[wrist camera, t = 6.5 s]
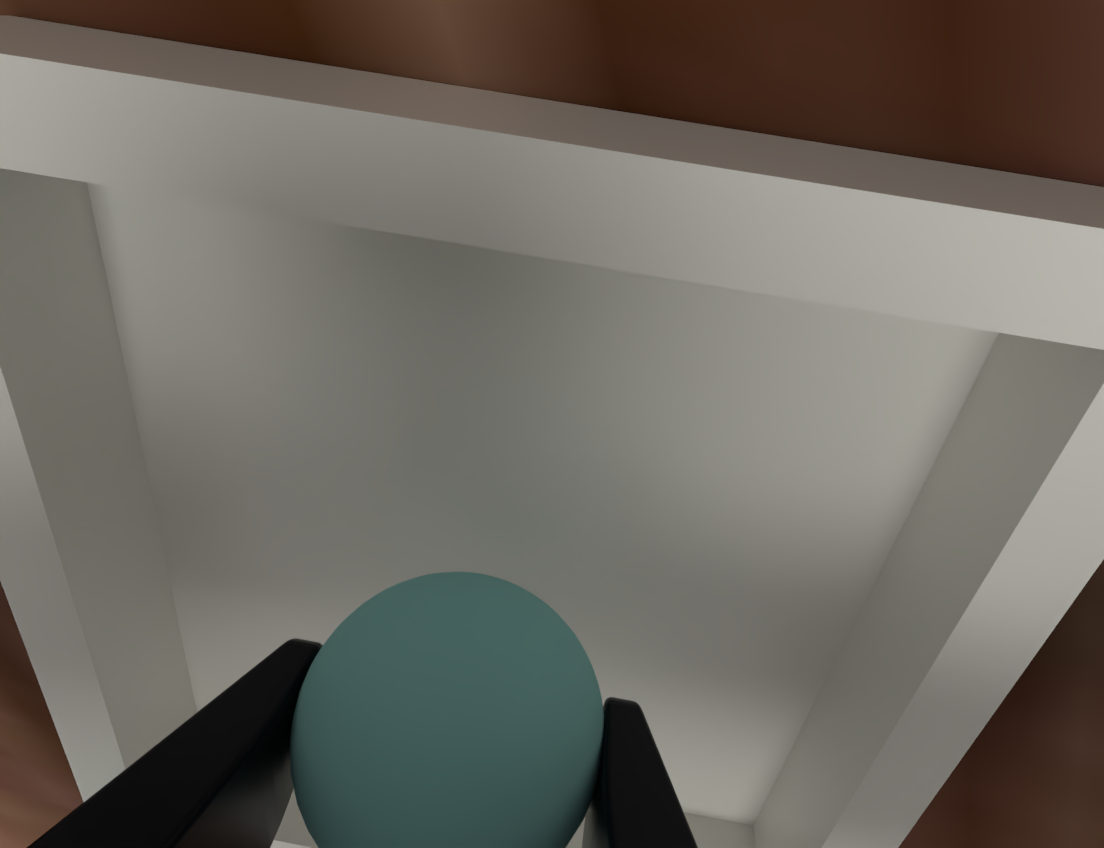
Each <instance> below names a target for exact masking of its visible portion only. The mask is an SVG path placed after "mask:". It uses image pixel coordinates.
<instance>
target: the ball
mask: <svg viewBox="0 0 1104 848" xmlns="http://www.w3.org/2000/svg"><path fill="white" fill-rule="evenodd" d="M603 737H604V709H603V703H602V697H601V693H600V689H599V684H598V681H597V678H596V675H595V672H594V669H593V667H592V664H591V662H590V660H589V658H588V655H587V654H586V652H585V650H584V648H583V646H582V645H581V643H580V641H579V640H578V638H577V637H576V635H575V633H574V632H573V631H572V630H571V629H570V627H569V626H568V625H567V624H566V623H565V621H564V620H563V619H562V618H561V617H560V616H559V615H558V613H556V612H555V611H554V610H553V609H552V608H551V607H550V606H549V605H548V604H546V603H545V602H544V601H542V600H541V599H539V598H538V597H537V596H535V595H534V594H532V593H530V592H529V591H527V590H525V589H523V588H522V587H520V586H518V585H515V584H513V583H511V582H509V581H506V580H503V579H500V578H497V577H494V576H489V575H485V574H479V573H472V572H444V573H433V574H428V575H423V576H419V577H416V578H413V579H409V580H407V581H404V582H401V583H398V584H396V585H394V586H392V587H389V588H387V589H385V590H384V591H382V592H380V593H379V594H377V595H375V596H374V597H372V598H371V599H369V600H367V601H366V602H364V603H363V604H362V605H360V606H359V607H358V608H357V609H356V610H355V611H354V612H352V613H351V614H350V615H349V616H348V617H347V618H346V619H345V620H344V621H343V622H341V623H340V625H339V626H338V627H337V628H336V629H335V631H334V632H333V633H332V634H331V635H330V637H329V638H328V639H327V641H326V642H325V643H324V645H323V646H322V647H321V649H320V651H319V652H318V654H317V656H316V657H315V659H314V660H313V662H312V664H311V666H310V668H309V670H308V673H307V675H306V677H305V680H304V682H303V684H302V687H301V689H300V692H299V695H298V699H297V703H296V707H295V711H294V715H293V720H292V726H291V736H290V768H291V777H292V782H293V787H294V792H295V796H296V801H297V805H298V807H299V810H300V812H301V815H302V817H303V820H304V822H305V825H306V827H307V830H308V832H309V833H310V835H311V836H312V838H313V840H314V841H315V843H316V844H317V846H318V848H566V846H567V845H568V843H569V842H570V840H571V839H572V837H573V836H574V834H575V833H576V831H577V829H578V828H579V826H580V825H581V823H582V822H583V820H584V817H585V815H586V813H587V811H588V808H589V806H590V804H591V802H592V799H593V797H594V794H595V790H596V785H597V780H598V775H599V769H600V762H601V755H602V747H603Z"/></svg>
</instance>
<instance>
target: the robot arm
mask: <svg viewBox="0 0 1104 848" xmlns="http://www.w3.org/2000/svg"><path fill="white" fill-rule="evenodd" d="M322 646H323V645H322V644H321V643H319V642H314V641H309V640H303V639H298V638H293V639H290V640H288V641H286V642H285V643H283V644H282V645H281V646H280V647H278V648H277V649H276V650H275V651H273V652H272V653H271V654H270V655H268V656H267V657H266V658H265V659H263V660H262V661H261V662H260V663H258V664H257V665H256V666H255V667H253V668H252V669H251V670H250V671H248V672H247V673H246V674H245V675H243V676H242V677H241V678H239V679H238V680H237V681H236V682H234V683H233V684H232V685H231V686H229V687H228V688H227V689H226V690H224V691H223V692H222V693H221V694H219V695H218V696H217V697H216V698H214V699H213V700H212V701H211V702H209V703H208V704H207V705H206V706H204V707H203V708H202V709H201V710H199V711H198V712H197V713H195V714H194V715H193V716H192V717H190V718H189V719H188V720H187V721H185V722H184V723H183V724H182V725H180V726H179V727H178V728H177V729H175V730H174V731H173V732H172V733H170V734H169V735H168V736H167V737H165V738H164V739H163V740H162V741H160V742H159V743H158V744H157V745H155V746H154V747H153V748H151V749H150V750H149V751H148V752H146V753H145V754H144V755H143V756H141V757H140V758H139V759H138V760H136V761H135V762H134V763H133V764H131V765H130V766H129V767H128V768H126V769H125V770H124V771H123V772H121V773H120V774H119V775H118V776H116V777H115V778H114V779H113V780H111V781H110V782H109V783H107V784H106V785H105V786H104V787H102V788H101V789H100V790H99V791H97V792H96V793H95V794H94V795H92V796H91V797H90V798H89V799H87V800H86V801H85V802H84V803H82V804H81V805H80V806H79V807H77V808H76V809H75V810H74V811H72V812H71V813H70V814H69V815H67V816H66V817H65V818H63V819H62V820H61V821H60V822H58V823H57V824H56V825H55V826H53V827H52V828H51V829H50V830H48V831H47V832H46V833H45V834H43V835H42V836H41V837H40V838H38V839H37V840H36V841H35V842H33V843H32V844H31V845H30V846H28V847H27V848H270V847H271V845H272V843H273V840H274V838H275V836H276V834H277V831H278V829H279V827H280V824H281V822H282V819H283V816H284V814H285V811H286V808H287V806H288V803H289V800H290V797H291V794H292V792H293V789H294V787H293V782H292V777H291V768H290V736H291V726H292V720H293V715H294V711H295V707H296V703H297V699H298V695H299V692H300V689H301V687H302V684H303V682H304V680H305V677H306V675H307V673H308V670H309V668H310V666H311V664H312V662H313V660H314V659H315V657H316V656H317V654H318V652H319V651H320V649H321V647H322ZM603 709H604V737H603V747H602V755H601V762H600V769H599V775H598V780H597V785H596V790H595V794H594V797H593V799H592V802H591V804H590V806H589V808H588V811H587V813H586V815H585V823H584V832H583V841H582V848H698V846H697V844H696V842H695V839H694V837H693V834H692V832H691V829H690V827H689V824H688V822H687V819H686V817H685V814H684V812H683V809H682V807H681V804H680V802H679V800H678V797H677V795H676V792H675V790H674V787H673V785H672V782H671V780H670V777H669V775H668V772H667V770H666V767H665V765H664V763H663V760H662V758H661V755H660V753H659V750H658V748H657V745H656V743H655V740H654V738H653V735H652V733H651V730H650V728H649V725H648V723H647V721H646V718H645V716H644V713H643V711H642V709H641V707H640V705H639V704H638V703H637V702H635V701H631V700H626V699H620V698H615V697H609V698H607V699H606V700H605V702H604V705H603Z"/></svg>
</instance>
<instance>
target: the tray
mask: <svg viewBox="0 0 1104 848" xmlns="http://www.w3.org/2000/svg"><path fill="white" fill-rule="evenodd" d="M1103 559H1104V187H1099V186H1093V185H1087V184H1080V183H1074V182H1067V181H1061V180H1055V179H1048V178H1042V177H1036V176H1029V175H1023V174H1016V173H1010V172H1004V171H997V170H991V169H985V168H978V167H972V166H966V165H959V164H953V163H946V162H940V161H934V160H927V159H921V158H915V157H908V156H902V155H895V154H889V153H883V152H876V151H870V150H864V149H857V148H851V147H844V146H838V145H832V144H825V143H819V142H813V141H806V140H800V139H793V138H787V137H781V136H774V135H768V134H762V133H755V132H749V131H742V130H736V129H730V128H723V127H717V126H711V125H704V124H698V123H691V122H685V121H679V120H672V119H666V118H660V117H653V116H647V115H641V114H634V113H628V112H621V111H615V110H609V109H602V108H596V107H590V106H583V105H577V104H570V103H564V102H558V101H551V100H545V99H539V98H532V97H526V96H519V95H513V94H507V93H500V92H494V91H488V90H481V89H475V88H468V87H462V86H456V85H449V84H443V83H437V82H430V81H424V80H417V79H411V78H405V77H398V76H392V75H386V74H379V73H373V72H366V71H360V70H354V69H347V68H341V67H335V66H328V65H322V64H315V63H309V62H303V61H296V60H290V59H284V58H277V57H271V56H265V55H258V54H252V53H245V52H239V51H233V50H226V49H220V48H214V47H207V46H201V45H194V44H188V43H182V42H175V41H169V40H163V39H156V38H150V37H143V36H137V35H131V34H124V33H118V32H112V31H105V30H99V29H92V28H86V27H80V26H73V25H67V24H61V23H54V22H48V21H41V20H35V19H29V18H22V17H16V16H0V581H1V584H2V587H3V589H4V592H5V595H6V597H7V600H8V603H9V605H10V608H11V610H12V613H13V616H14V618H15V621H16V624H17V626H18V629H19V632H20V634H21V637H22V640H23V642H24V645H25V648H26V650H27V653H28V656H29V658H30V661H31V663H32V666H33V669H34V671H35V674H36V677H37V679H38V682H39V685H40V687H41V690H42V693H43V695H44V698H45V701H46V703H47V706H48V709H49V711H50V714H51V716H52V719H53V722H54V724H55V727H56V730H57V732H58V735H59V738H60V740H61V743H62V746H63V748H64V751H65V754H66V756H67V759H68V762H69V764H70V767H71V769H72V772H73V775H74V777H75V780H76V783H77V785H78V788H79V791H80V793H81V796H82V799H83V801H84V802H85V801H86V800H87V799H89V798H90V797H91V796H92V795H94V794H95V793H96V792H97V791H99V790H100V789H101V788H102V787H104V786H105V785H106V784H107V783H109V782H110V781H111V780H113V779H114V778H115V777H116V776H118V775H119V774H120V773H121V772H123V771H124V770H125V769H126V768H128V767H129V766H130V765H131V764H133V763H134V762H135V761H136V760H138V759H139V758H140V757H141V756H143V755H144V754H145V753H146V752H148V751H149V750H150V749H151V748H153V747H154V746H155V745H157V744H158V743H159V742H160V741H162V740H163V739H164V738H165V737H167V736H168V735H169V734H170V733H172V732H173V731H174V730H175V729H177V728H178V727H179V726H180V725H182V724H183V723H184V722H185V721H187V720H188V719H189V718H190V717H192V716H193V715H194V714H195V713H197V712H198V711H199V710H201V709H202V708H203V707H204V706H206V705H207V704H208V703H209V702H211V701H212V700H213V699H214V698H216V697H217V696H218V695H219V694H221V693H222V692H223V691H224V690H226V689H227V688H228V687H229V686H231V685H232V684H233V683H234V682H236V681H237V680H238V679H239V678H241V677H242V676H243V675H245V674H246V673H247V672H248V671H250V670H251V669H252V668H253V667H255V666H256V665H257V664H258V663H260V662H261V661H262V660H263V659H265V658H266V657H267V656H268V655H270V654H271V653H272V652H273V651H275V650H276V649H277V648H278V647H280V646H281V645H282V644H283V643H285V642H286V641H288V640H290V639H293V638H298V639H303V640H309V641H314V642H319V643H321V644H322V645H324V643H325V642H326V641H327V639H328V638H329V637H330V635H331V634H332V633H333V632H334V631H335V629H336V628H337V627H338V626H339V625H340V623H341V622H343V621H344V620H345V619H346V618H347V617H348V616H349V615H350V614H351V613H352V612H354V611H355V610H356V609H357V608H358V607H359V606H360V605H362V604H363V603H364V602H366V601H367V600H369V599H371V598H372V597H374V596H375V595H377V594H379V593H380V592H382V591H384V590H385V589H387V588H389V587H392V586H394V585H396V584H398V583H401V582H404V581H407V580H409V579H413V578H416V577H419V576H423V575H428V574H433V573H444V572H472V573H479V574H485V575H489V576H494V577H497V578H500V579H503V580H506V581H509V582H511V583H513V584H515V585H518V586H520V587H522V588H523V589H525V590H527V591H529V592H530V593H532V594H534V595H535V596H537V597H538V598H539V599H541V600H542V601H544V602H545V603H546V604H548V605H549V606H550V607H551V608H552V609H553V610H554V611H555V612H556V613H558V615H559V616H560V617H561V618H562V619H563V620H564V621H565V623H566V624H567V625H568V626H569V627H570V629H571V630H572V631H573V632H574V633H575V635H576V637H577V638H578V640H579V641H580V643H581V645H582V646H583V648H584V650H585V652H586V654H587V655H588V658H589V660H590V662H591V664H592V667H593V669H594V672H595V675H596V678H597V681H598V684H599V689H600V693H601V697H602V703H603V705H604V702H605V700H606V699H607V698H609V697H615V698H620V699H626V700H631V701H635V702H637V703H638V704H639V705H640V707H641V709H642V711H643V713H644V716H645V718H646V721H647V723H648V725H649V728H650V730H651V733H652V735H653V738H654V740H655V743H656V745H657V748H658V750H659V753H660V755H661V758H662V760H663V763H664V765H665V767H666V770H667V772H668V775H669V777H670V780H671V782H672V785H673V787H674V790H675V792H676V795H677V797H678V800H679V802H680V804H681V807H682V809H683V812H684V814H685V817H686V819H687V822H688V824H689V827H690V829H691V832H692V834H693V837H694V839H695V842H696V844H697V846H698V848H898V847H899V846H900V844H901V843H902V842H903V840H904V839H905V837H906V836H907V835H908V833H909V832H910V830H911V829H912V828H913V826H914V825H915V823H916V822H917V821H918V819H919V818H920V816H921V815H922V814H923V812H924V811H925V809H926V808H927V807H928V805H929V804H930V802H931V801H932V800H933V798H934V797H935V795H936V794H937V793H938V791H939V790H940V788H941V787H942V786H943V784H944V783H945V781H946V780H947V778H948V777H949V776H950V774H951V773H952V771H953V770H954V769H955V767H956V766H957V764H958V763H959V762H960V760H961V759H962V757H963V756H964V755H965V753H966V752H967V750H968V749H969V748H970V746H971V745H972V743H973V742H974V741H975V739H976V738H977V736H978V735H979V734H980V732H981V731H982V729H983V728H984V727H985V725H986V724H987V722H988V721H989V720H990V718H991V717H992V715H993V714H994V713H995V711H996V710H997V708H998V707H999V705H1000V704H1001V703H1002V701H1003V700H1004V698H1005V697H1006V696H1007V694H1008V693H1009V691H1010V690H1011V689H1012V687H1013V686H1014V684H1015V683H1016V682H1017V680H1018V679H1019V677H1020V676H1021V675H1022V673H1023V672H1024V670H1025V669H1026V668H1027V666H1028V665H1029V663H1030V662H1031V661H1032V659H1033V658H1034V656H1035V655H1036V654H1037V652H1038V651H1039V649H1040V648H1041V647H1042V645H1043V644H1044V642H1045V641H1046V640H1047V638H1048V637H1049V635H1050V634H1051V632H1052V631H1053V630H1054V628H1055V627H1056V625H1057V624H1058V623H1059V621H1060V620H1061V618H1062V617H1063V616H1064V614H1065V613H1066V611H1067V610H1068V609H1069V607H1070V606H1071V604H1072V603H1073V602H1074V600H1075V599H1076V597H1077V596H1078V595H1079V593H1080V592H1081V590H1082V589H1083V588H1084V586H1085V585H1086V583H1087V582H1088V581H1089V579H1090V578H1091V576H1092V575H1093V574H1094V572H1095V571H1096V569H1097V568H1098V567H1099V565H1100V564H1101V562H1102V561H1103ZM584 823H585V817H584V820H583V822H582V823H581V825H580V826H579V828H578V829H577V831H576V833H575V834H574V836H573V837H572V839H571V840H570V842H569V843H568V845H567V846H566V848H582V841H583V832H584ZM270 848H318V846H317V844H316V843H315V841H314V840H313V838H312V836H311V835H310V833H309V832H308V830H307V827H306V825H305V822H304V820H303V817H302V815H301V812H300V810H299V807H298V805H297V801H296V796H295V792H294V789H293V792H292V794H291V797H290V800H289V803H288V806H287V808H286V811H285V814H284V816H283V819H282V822H281V824H280V827H279V829H278V831H277V834H276V836H275V838H274V840H273V843H272V845H271V847H270Z"/></svg>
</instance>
